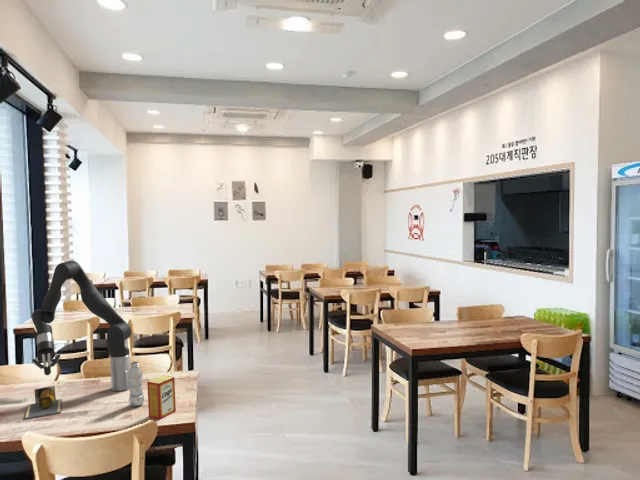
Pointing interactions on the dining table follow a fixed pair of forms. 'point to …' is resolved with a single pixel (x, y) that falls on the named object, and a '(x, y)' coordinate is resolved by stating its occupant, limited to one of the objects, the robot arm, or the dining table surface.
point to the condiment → (45, 396)
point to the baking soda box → (161, 397)
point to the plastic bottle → (135, 385)
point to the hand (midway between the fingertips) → (47, 374)
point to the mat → (42, 410)
